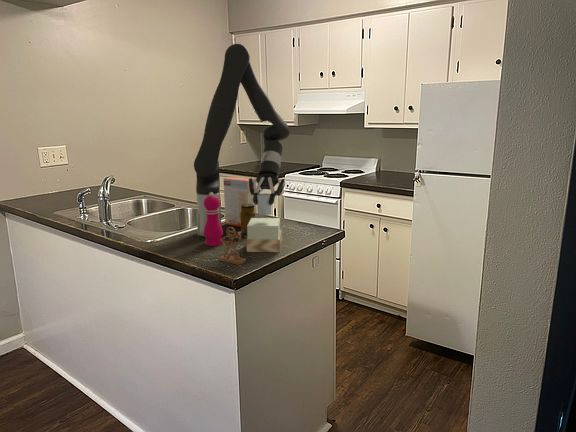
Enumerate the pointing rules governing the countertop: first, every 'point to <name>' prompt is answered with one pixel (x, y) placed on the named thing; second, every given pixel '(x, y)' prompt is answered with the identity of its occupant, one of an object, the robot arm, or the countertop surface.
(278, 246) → the maple base block
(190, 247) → the countertop surface
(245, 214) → the condiment
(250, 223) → the sage top block
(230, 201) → the cracker box
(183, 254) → the countertop surface
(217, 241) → the pepper mill
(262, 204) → the blue round block
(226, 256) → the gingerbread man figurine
